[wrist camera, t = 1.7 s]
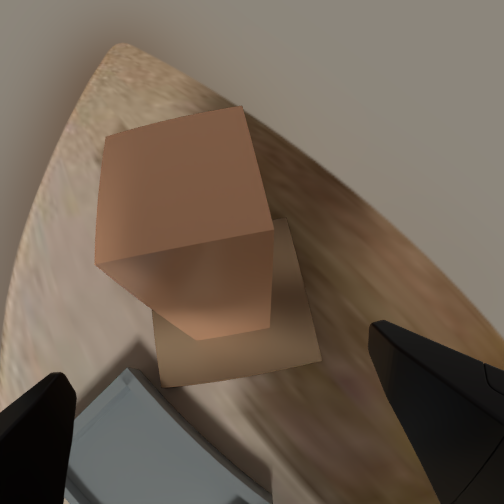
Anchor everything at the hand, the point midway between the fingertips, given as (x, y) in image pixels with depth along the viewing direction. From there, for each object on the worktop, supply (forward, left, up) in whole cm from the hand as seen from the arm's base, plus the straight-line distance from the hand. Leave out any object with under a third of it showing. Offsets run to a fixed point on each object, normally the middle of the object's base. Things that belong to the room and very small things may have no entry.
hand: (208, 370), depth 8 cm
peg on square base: (+4, -3, -12) cm, 13 cm away
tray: (-1, +10, -12) cm, 15 cm away
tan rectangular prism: (+4, -3, -11) cm, 12 cm away
